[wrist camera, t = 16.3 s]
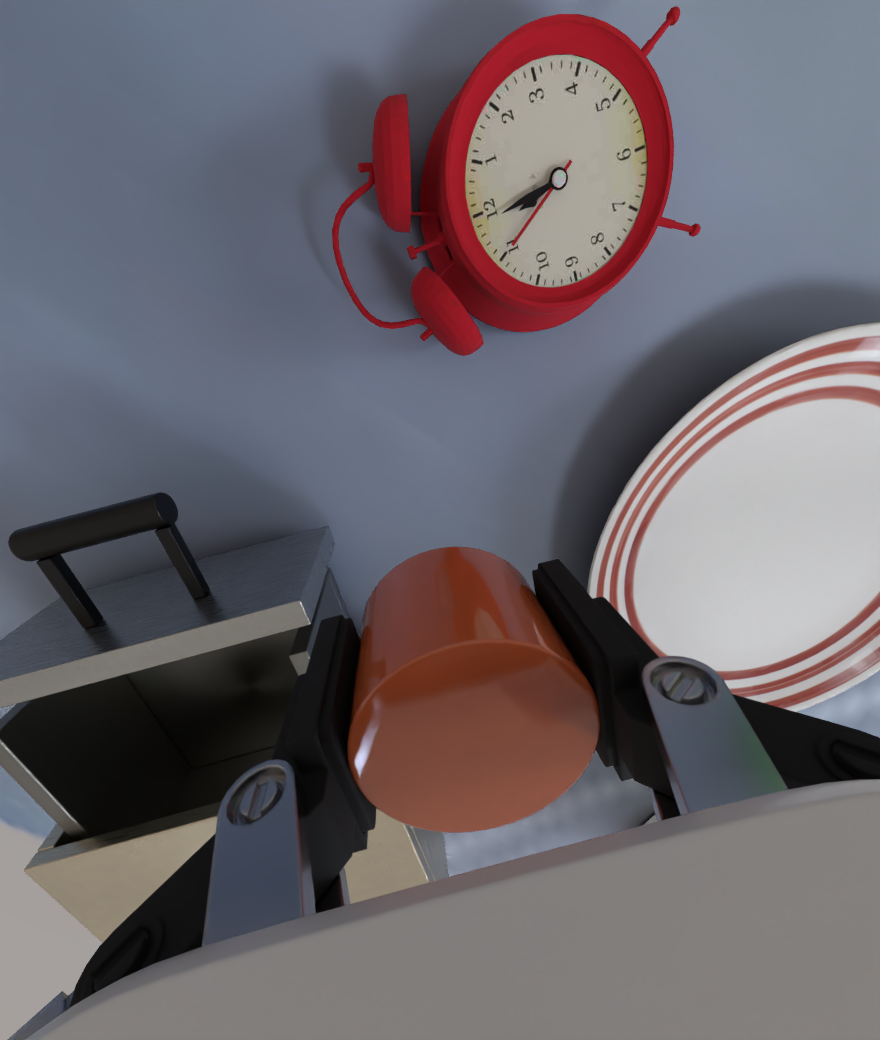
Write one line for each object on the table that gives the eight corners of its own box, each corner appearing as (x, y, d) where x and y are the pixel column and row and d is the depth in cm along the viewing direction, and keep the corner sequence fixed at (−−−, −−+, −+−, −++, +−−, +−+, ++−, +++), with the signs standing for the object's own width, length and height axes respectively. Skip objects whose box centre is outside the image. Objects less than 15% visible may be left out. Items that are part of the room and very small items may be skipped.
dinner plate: (793, 722, 35) (831, 756, 32) (508, 665, 29) (522, 700, 26) (1039, 414, 27) (1123, 421, 24) (707, 245, 21) (763, 225, 18)
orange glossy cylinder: (522, 525, 11) (590, 609, 7) (546, 670, 13) (611, 798, 9) (338, 572, 11) (307, 683, 7) (389, 712, 12) (387, 858, 9)
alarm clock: (724, 261, 18) (420, 397, 15) (620, 294, 23) (386, 397, 21) (695, -75, 14) (276, 31, 11) (578, 64, 19) (283, 155, 17)
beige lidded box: (142, 703, 27) (21, 871, 18) (384, 637, 27) (381, 771, 18) (240, 842, 33) (185, 1020, 24) (438, 787, 33) (456, 942, 24)
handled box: (5, 517, 21) (-199, 600, 14) (296, 441, 21) (248, 482, 14) (183, 767, 28) (113, 907, 21) (397, 708, 29) (400, 826, 21)
